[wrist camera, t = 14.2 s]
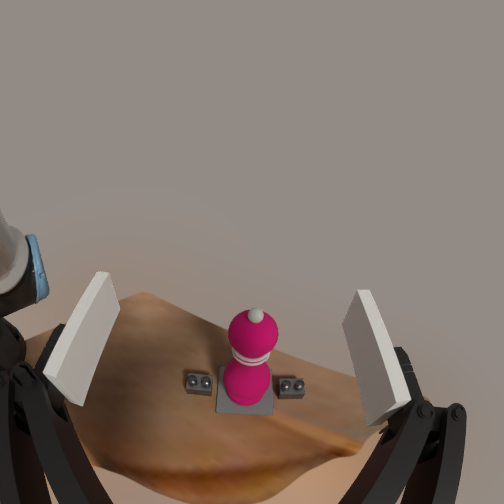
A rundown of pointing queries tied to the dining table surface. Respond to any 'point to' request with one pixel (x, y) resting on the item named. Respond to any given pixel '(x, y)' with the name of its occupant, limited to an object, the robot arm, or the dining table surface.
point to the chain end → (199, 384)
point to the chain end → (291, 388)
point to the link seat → (232, 408)
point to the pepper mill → (250, 356)
